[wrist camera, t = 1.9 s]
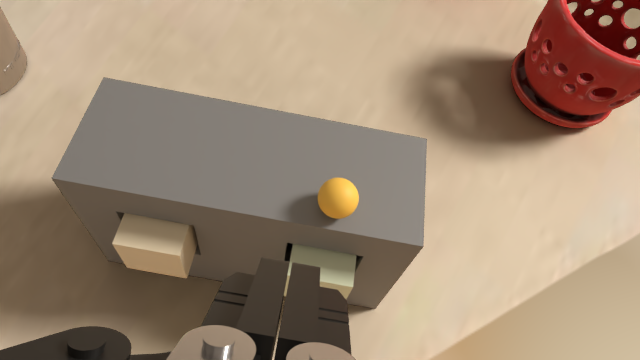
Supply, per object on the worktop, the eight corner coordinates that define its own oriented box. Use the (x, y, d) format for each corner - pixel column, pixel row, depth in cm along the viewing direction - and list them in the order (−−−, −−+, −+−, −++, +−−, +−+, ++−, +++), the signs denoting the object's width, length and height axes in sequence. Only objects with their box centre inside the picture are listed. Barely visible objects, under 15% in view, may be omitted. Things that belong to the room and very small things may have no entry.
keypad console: (375, 308, 40) (436, 229, 26) (108, 260, 39) (35, 155, 26) (382, 222, 44) (438, 116, 31) (141, 177, 43) (93, 50, 30)
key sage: (342, 306, 34) (353, 287, 30) (283, 295, 34) (287, 275, 30) (348, 253, 36) (359, 230, 32) (293, 243, 36) (297, 218, 32)
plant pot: (485, 106, 53) (541, 18, 42) (521, 38, 59) (577, -52, 49) (599, 163, 50) (687, 86, 40) (623, 87, 57) (704, 3, 47)
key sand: (187, 278, 34) (179, 255, 30) (127, 267, 33) (112, 243, 30) (202, 227, 36) (197, 200, 32) (146, 216, 35) (134, 188, 32)
